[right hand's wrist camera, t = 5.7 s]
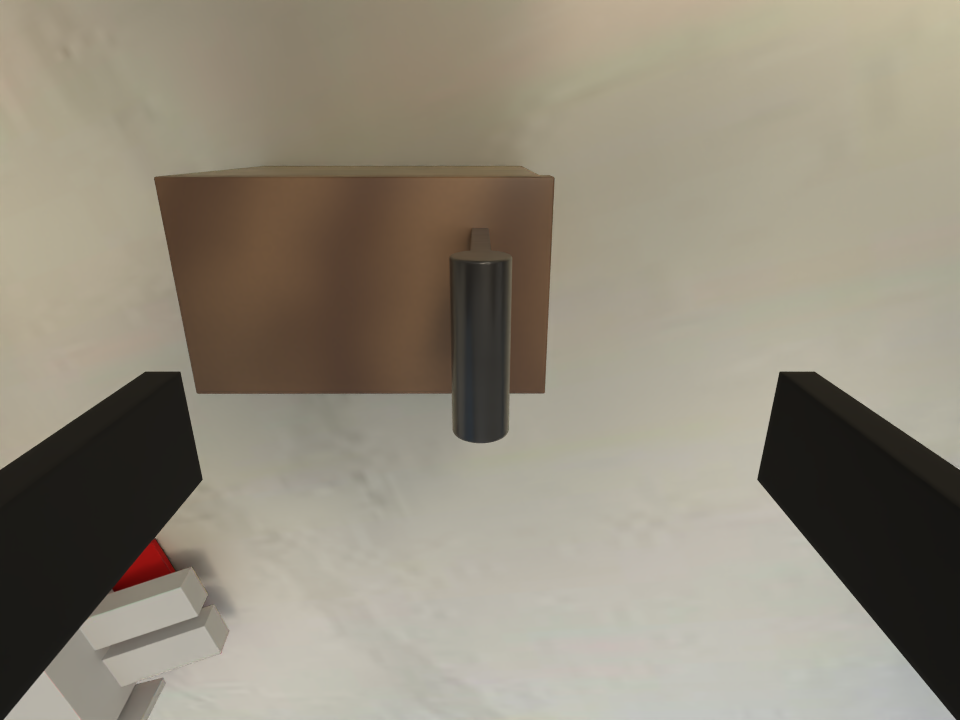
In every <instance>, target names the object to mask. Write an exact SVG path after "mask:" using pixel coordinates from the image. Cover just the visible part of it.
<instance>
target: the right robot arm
mask: <svg viewBox="0 0 960 720" xmlns="http://www.w3.org/2000/svg"><path fill="white" fill-rule="evenodd" d="M202 480H203V479H202V474H201V469H200V464H199V460H198V455H197V450H196V445H195V440H194V435H193V431H192V426H191V421H190V416H189V411H188V406H187V402H186V397H185V392H184V387H183V382H182V377H181V373H180V372H144V373H143V374H141V375H140V376H138V377H137V378H135V379H134V380H132V381H131V382H129V383H128V384H127V385H125V386H124V387H122V388H121V389H119V390H118V391H116V392H115V393H113V394H112V395H110V396H109V397H107V398H106V399H104V400H103V401H101V402H100V403H98V404H97V405H96V406H94V407H93V408H91V409H90V410H88V411H87V412H85V413H84V414H82V415H81V416H79V417H78V418H76V419H75V420H73V421H72V422H70V423H69V424H67V425H66V426H65V427H63V428H62V429H60V430H59V431H57V432H56V433H54V434H53V435H51V436H50V437H48V438H47V439H45V440H44V441H42V442H41V443H39V444H38V445H37V446H35V447H34V448H32V449H31V450H29V451H28V452H26V453H25V454H23V455H22V456H20V457H19V458H17V459H16V460H14V461H13V462H11V463H10V464H8V465H7V466H6V467H4V468H3V469H1V470H0V720H4V719H5V718H6V716H7V715H8V714H9V713H10V711H11V710H12V709H13V708H14V707H15V705H16V704H17V703H18V702H19V701H20V699H21V698H22V697H23V696H24V695H25V693H26V692H27V691H28V690H29V689H30V687H31V686H32V685H33V684H34V683H35V681H36V680H37V679H38V678H39V676H40V675H41V674H42V673H43V672H44V670H45V669H46V668H47V667H48V666H49V664H50V663H51V662H52V661H53V660H54V658H55V657H56V656H57V655H58V654H59V652H60V651H61V650H62V649H63V648H64V646H65V645H66V644H67V643H68V642H69V640H70V639H71V638H72V637H73V635H74V634H75V633H76V632H77V631H78V629H79V628H80V627H81V626H82V625H83V623H84V622H85V621H86V620H87V619H88V617H89V616H90V615H91V614H92V613H93V611H94V610H95V609H96V608H97V607H98V605H99V604H100V603H101V602H102V600H103V599H104V598H105V597H106V596H107V594H108V593H109V592H110V591H111V590H112V588H113V587H114V586H115V585H116V584H117V582H118V581H119V580H120V579H121V578H122V576H123V575H124V574H125V573H126V572H127V570H128V569H129V568H130V567H131V565H132V564H133V563H134V562H135V561H136V559H137V558H138V557H139V556H140V555H141V553H142V552H143V551H144V550H145V549H146V547H147V546H148V545H149V544H150V543H151V541H152V540H153V539H154V538H155V537H156V535H157V534H158V533H159V532H160V531H161V529H162V528H163V527H164V526H165V524H166V523H167V522H168V521H169V520H170V518H171V517H172V516H173V515H174V514H175V512H176V511H177V510H178V509H179V508H180V506H181V505H182V504H183V503H184V502H185V500H186V499H187V498H188V497H189V496H190V494H191V493H192V492H193V491H194V489H195V488H196V487H197V486H198V485H199V483H200V482H201V481H202ZM757 480H758V481H759V482H760V483H761V485H762V486H763V487H764V488H765V489H766V491H767V492H768V493H769V494H770V496H771V497H772V498H773V499H774V500H775V502H776V503H777V504H778V505H779V506H780V508H781V509H782V510H783V511H784V512H785V514H786V515H787V516H788V517H789V518H790V520H791V521H792V522H793V523H794V524H795V526H796V527H797V528H798V529H799V531H800V532H801V533H802V534H803V535H804V537H805V538H806V539H807V540H808V541H809V543H810V544H811V545H812V546H813V547H814V549H815V550H816V551H817V552H818V553H819V555H820V556H821V557H822V558H823V559H824V561H825V562H826V563H827V564H828V566H829V567H830V568H831V569H832V570H833V572H834V573H835V574H836V575H837V576H838V578H839V579H840V580H841V581H842V582H843V584H844V585H845V586H846V587H847V588H848V590H849V591H850V592H851V593H852V594H853V596H854V597H855V598H856V599H857V600H858V602H859V603H860V604H861V605H862V607H863V608H864V609H865V610H866V611H867V613H868V614H869V615H870V616H871V617H872V619H873V620H874V621H875V622H876V623H877V625H878V626H879V627H880V628H881V629H882V631H883V632H884V633H885V634H886V635H887V637H888V638H889V639H890V640H891V642H892V643H893V644H894V645H895V646H896V648H897V649H898V650H899V651H900V652H901V654H902V655H903V656H904V657H905V658H906V660H907V661H908V662H909V663H910V664H911V666H912V667H913V668H914V669H915V670H916V672H917V673H918V674H919V675H920V677H921V678H922V679H923V680H924V681H925V683H926V684H927V685H928V686H929V687H930V689H931V690H932V691H933V692H934V693H935V695H936V696H937V697H938V698H939V699H940V701H941V702H942V703H943V704H944V705H945V707H946V708H947V709H948V710H949V711H950V713H951V714H952V715H953V716H954V718H955V719H956V720H960V470H959V469H957V468H956V467H954V466H953V465H952V464H950V463H949V462H947V461H946V460H944V459H943V458H941V457H940V456H938V455H937V454H935V453H934V452H932V451H931V450H929V449H928V448H926V447H925V446H923V445H922V444H921V443H919V442H918V441H916V440H915V439H913V438H912V437H910V436H909V435H907V434H906V433H904V432H903V431H901V430H900V429H898V428H897V427H895V426H894V425H893V424H891V423H890V422H888V421H887V420H885V419H884V418H882V417H881V416H879V415H878V414H876V413H875V412H873V411H872V410H870V409H869V408H867V407H866V406H864V405H863V404H862V403H860V402H859V401H857V400H856V399H854V398H853V397H851V396H850V395H848V394H847V393H845V392H844V391H842V390H841V389H839V388H838V387H836V386H835V385H833V384H832V383H831V382H829V381H828V380H826V379H825V378H823V377H822V376H820V375H819V374H817V373H816V372H779V377H778V382H777V387H776V392H775V397H774V402H773V406H772V411H771V416H770V421H769V426H768V431H767V435H766V440H765V445H764V450H763V455H762V460H761V464H760V469H759V474H758V479H757Z"/></svg>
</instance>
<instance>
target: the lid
mask: <svg viewBox="0 0 960 720" xmlns="http://www.w3.org/2000/svg"><path fill="white" fill-rule="evenodd" d="M154 180H155V185H156V190H157V195H158V200H159V205H160V210H161V215H162V220H163V225H164V230H165V235H166V240H167V245H168V250H169V255H170V261H171V266H172V271H173V276H174V281H175V286H176V291H177V296H178V301H179V306H180V311H181V316H182V321H183V326H184V331H185V336H186V341H187V346H188V351H189V356H190V361H191V366H192V371H193V377H194V382H195V387H196V392H197V393H198V394H347V393H452V423H453V432H454V434H455V435H456V436H457V437H458V438H460V439H462V440H464V441H468V442H473V443H489V442H494V441H497V440H500V439H502V438H503V437H504V436H506V434H507V433H508V430H509V393H544V392H545V376H546V354H547V332H548V310H549V288H550V266H551V243H552V221H553V199H554V177H552V176H550V175H168V176H158V177H154Z"/></svg>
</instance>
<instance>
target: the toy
mask: <svg viewBox="0 0 960 720" xmlns="http://www.w3.org/2000/svg"><path fill="white" fill-rule="evenodd" d="M207 596H208V593H207V592H206V590H205V588H204V587H203V585H202V583H201V582H200V580H199V578H198V576H197V575H196V573H195V571H194V570H193V568H192V567H189V568H186V569H183V570H180V571H177V572H176V571H175V569H174V568H173V566H172V565H171V563H170V562H169V560H168V558H167V557H166V555H165V554H164V552H163V551H162V549H161V548H160V546H159V544H158V543H157V541H156V540H155V539H154V540H152V541H151V543H150V544H149V545H148V546H147V547H146V549H145V550H144V551H143V552H142V553H141V555H140V556H139V557H138V558H137V559H136V561H135V562H134V563H133V564H132V565H131V567H130V568H129V569H128V570H127V572H126V573H125V574H124V575H123V576H122V578H121V579H120V580H119V581H118V582H117V584H116V585H115V586H114V587H113V588H112V590H111V591H110V592H109V593H108V594H107V596H106V597H105V598H104V599H103V600H102V602H101V603H100V604H99V605H98V607H97V608H96V609H95V610H94V611H93V613H92V614H91V615H90V616H89V617H88V619H87V620H86V621H85V622H84V623H83V625H82V626H81V627H80V628H79V629H78V631H77V632H76V633H75V634H74V635H73V637H72V638H71V639H70V640H69V642H68V643H67V644H66V645H65V646H64V648H63V649H62V650H61V651H60V652H59V654H58V655H57V656H56V657H55V658H54V660H53V661H52V662H51V663H50V664H49V666H48V667H47V668H46V669H45V670H44V672H43V673H42V674H41V675H40V676H39V678H38V679H37V680H36V681H35V683H34V684H33V685H32V686H31V687H30V689H29V690H28V691H27V692H26V693H25V695H24V696H23V697H22V698H21V699H20V701H19V702H18V703H17V704H16V705H15V707H14V708H13V709H12V710H11V711H10V713H9V714H8V715H7V716H6V718H5V719H4V720H147V719H148V717H149V715H150V713H151V711H152V709H153V707H154V705H155V703H156V701H157V699H158V697H159V695H160V693H161V691H162V689H163V687H164V686H165V684H166V682H165V680H164V678H160V679H156V680H152V681H148V682H144V683H140V684H136V682H137V681H140V680H143V679H146V678H149V677H152V676H155V675H158V674H161V673H164V672H167V671H170V670H173V669H176V668H179V667H182V666H185V665H188V664H191V663H194V662H197V661H200V660H203V659H205V658H208V657H211V656H214V655H217V654H220V653H221V652H222V649H223V646H224V644H225V641H226V638H227V636H228V633H229V629H228V627H227V626H226V624H225V622H224V621H223V619H222V617H221V616H220V614H219V612H218V610H217V609H216V607H215V605H214V604H213V605H210V606H207V607H204V608H202V607H203V605H204V602H205V600H206V598H207ZM135 684H136V685H135Z"/></svg>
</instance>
